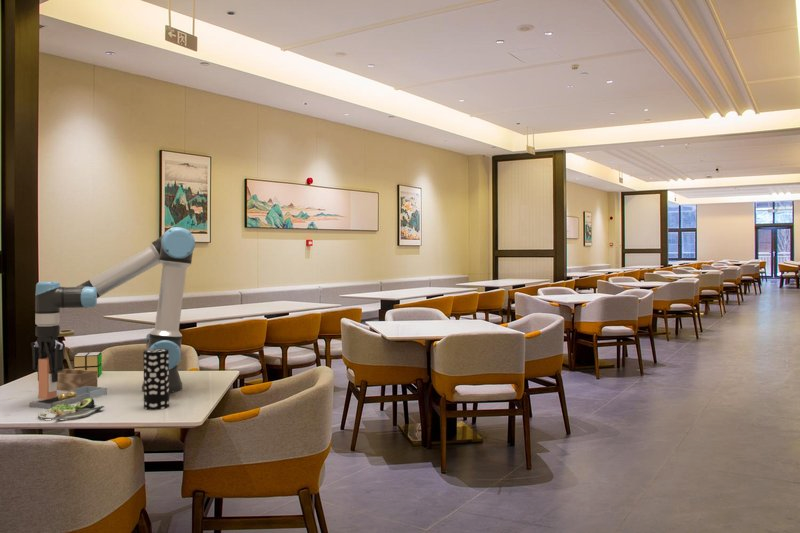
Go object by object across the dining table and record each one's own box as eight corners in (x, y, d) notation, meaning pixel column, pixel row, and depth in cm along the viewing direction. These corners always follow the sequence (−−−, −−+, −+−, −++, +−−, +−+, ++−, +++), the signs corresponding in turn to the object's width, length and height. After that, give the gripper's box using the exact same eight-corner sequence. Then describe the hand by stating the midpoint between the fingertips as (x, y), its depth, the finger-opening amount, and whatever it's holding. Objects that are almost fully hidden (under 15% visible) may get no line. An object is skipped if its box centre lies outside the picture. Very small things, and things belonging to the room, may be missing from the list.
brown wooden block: (97, 388, 254) (97, 371, 254) (79, 392, 246) (79, 375, 246) (66, 385, 260) (66, 368, 260) (47, 389, 251) (47, 372, 251)
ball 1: (69, 401, 229) (69, 392, 229) (62, 403, 226) (62, 394, 226) (63, 400, 230) (63, 392, 230) (55, 402, 227) (55, 393, 227)
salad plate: (80, 424, 201) (80, 409, 201) (25, 424, 201) (24, 409, 201) (109, 409, 220) (109, 396, 220) (58, 409, 220) (58, 396, 220)
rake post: (56, 397, 224) (56, 358, 224) (47, 399, 220) (47, 359, 220) (48, 396, 225) (48, 357, 225) (38, 398, 221) (38, 359, 221)
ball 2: (78, 399, 233) (78, 390, 233) (71, 400, 230) (71, 392, 230) (72, 398, 234) (72, 389, 234) (65, 400, 231) (65, 391, 231)
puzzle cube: (77, 374, 284) (77, 352, 284) (102, 373, 287) (101, 351, 287) (73, 378, 275) (73, 356, 275) (98, 377, 278) (98, 355, 278)
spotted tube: (161, 403, 227) (160, 348, 227) (173, 406, 222) (173, 350, 222) (139, 407, 221) (138, 351, 221) (151, 411, 216) (151, 353, 215)
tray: (106, 395, 241) (106, 387, 241) (90, 399, 234) (89, 391, 234) (86, 393, 245) (86, 386, 244) (69, 397, 237) (69, 390, 237)
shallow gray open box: (90, 399, 234) (90, 394, 234) (50, 410, 218) (50, 404, 218) (69, 397, 237) (69, 392, 237) (29, 408, 221) (29, 402, 221)
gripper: (74, 325, 223) (74, 390, 223) (39, 323, 229) (39, 387, 229) (56, 327, 216) (56, 394, 216) (20, 325, 222) (20, 390, 222)
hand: (47, 390), depth 222 cm, fingers closed on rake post, 4 cm apart
